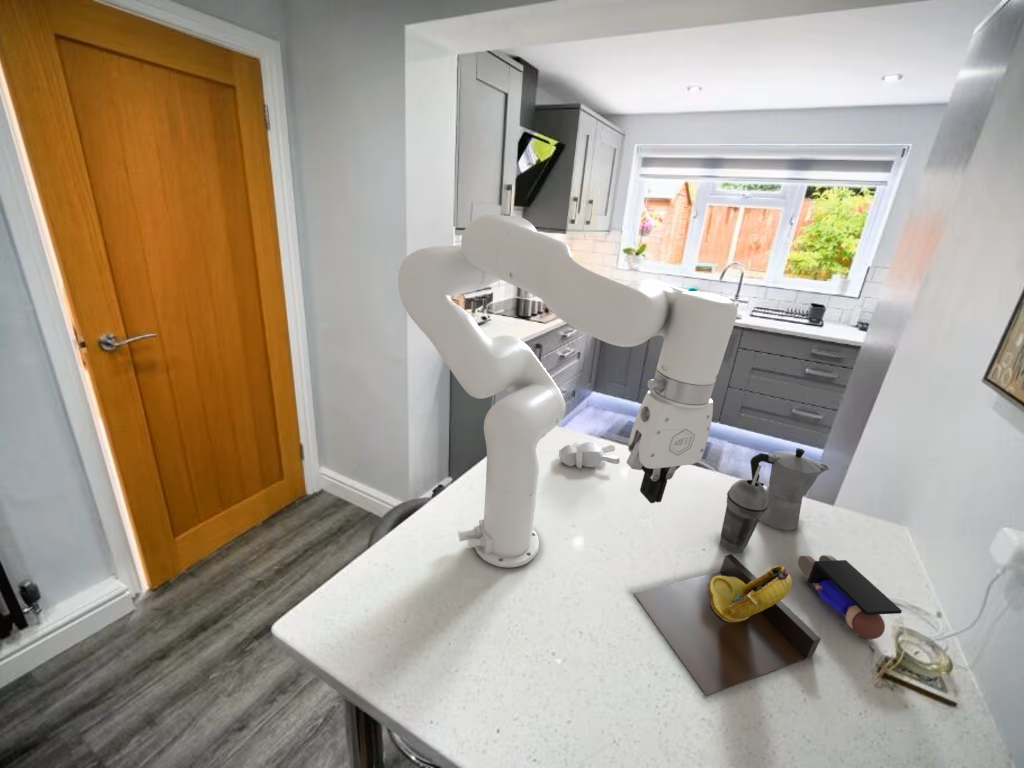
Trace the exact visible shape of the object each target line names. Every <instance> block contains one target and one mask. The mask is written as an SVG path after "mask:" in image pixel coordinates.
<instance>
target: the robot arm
mask: <svg viewBox="0 0 1024 768" xmlns="http://www.w3.org/2000/svg"><path fill="white" fill-rule="evenodd" d="M397 278H398V279H397V283H398V292H399V296H400V301H401V302H402V306H403V307H404V310H405V311H406V313H407V314H408V316H409V317H410V319H411V320H412V321H413V322H414V324H416V326H417V327H418V328H419V329H420V330H421V332H423V334H424V335H425V336H426V337H427V338H428V339H429V341H430V342H431V344H432V345H433V347H434V348H435V349H436V351H437V352H438V354H439V355H440V357H441V358H442V360H443V361H444V363H445V364H446V366H447V367H448V368H449V370H450V372H451V373H452V374H453V376H454V377H455V379H456V380H457V381H458V383H459V384H460V386H461V387H462V388H463V390H464V391H465V392H466V394H468V395H469V396H471V397H473V398H474V399H477V400H478V399H479V400H481V399H487V398H490V397H492V396H495V395H497V394H499V393H500V392H502V391H504V390H506V391H508V393H509V394H508V395H506V396H504V397H503V398H501V399H499V400H498V401H497V402H495V404H493V405H492V406H491V408H489V410H488V411H487V413H486V415H485V417H484V421H483V435H484V440H485V448H486V472H485V491H484V492H485V495H484V510H483V518H482V519H479V520H478V525H475V526H474V528H471V529H461V530H458V532H457V536H458V540H459V542H464V541H465V542H466V541H467V548H468V549H473V548H474V549H475V551H476V553H477V555H478V556H479V557H480V558H481V559H482V560H483V561H485V562H486V563H488V564H490V565H492V566H496V567H499V568H507V569H508V568H517V567H518V568H519V567H521V566H524V565H527V564H528V563H530V562H531V561H532V560H534V558H535V557H536V556H537V554H538V551H539V547H540V539H539V537H538V534H537V533H536V531H535V530H534V519H535V512H536V504H537V503H536V501H537V496H538V495H537V494H538V486H539V485H538V484H539V474H540V460H539V457H538V454H537V447H538V444H539V442H540V441H541V439H543V438H544V437H545V436H546V435H547V434H548V433H550V432H551V431H552V430H554V429H555V428H556V427H557V426H558V425H560V423H561V422H562V421H563V418H564V416H565V414H566V402H565V401H566V400H565V398H564V395H563V394H562V391H561V390H560V388H559V387H558V385H557V384H556V383H555V381H554V380H553V378H552V377H551V376H550V374H549V373H548V371H547V370H546V368H545V367H544V365H543V364H542V363H541V361H540V360H539V358H538V357H537V356H536V354H535V353H534V352H533V350H532V349H531V347H529V345H527V343H525V342H524V341H523V340H522V339H520V338H518V337H516V336H513V335H507V334H505V335H499V336H496V337H492V338H489V337H488V336H487V335H486V333H484V331H483V330H482V329H481V328H480V326H479V324H478V323H477V321H476V320H475V318H473V316H472V315H471V314H470V313H469V312H468V311H467V310H465V309H464V308H463V307H461V306H460V305H459V304H457V303H455V302H454V301H453V300H452V299H451V296H458V295H463V294H468V293H473V292H476V291H479V290H483V289H485V288H487V287H489V286H491V285H492V284H495V283H497V282H499V281H502V282H503V281H504V282H506V283H508V284H510V285H512V286H514V287H516V288H518V289H520V290H522V291H525V292H527V293H529V294H531V295H532V296H535V297H537V298H539V299H540V300H541V301H542V302H543V304H544V306H545V307H547V308H548V309H549V310H550V311H551V312H552V313H553V314H554V315H555V316H556V317H557V318H558V319H560V320H561V321H562V322H564V323H566V324H567V325H569V326H571V327H572V328H575V329H576V330H578V331H581V332H583V333H585V334H586V335H589V336H591V337H593V338H595V339H598V341H601V342H604V343H607V344H610V345H613V346H615V347H621V348H632V347H636V346H639V345H642V344H644V343H645V342H647V341H649V340H650V339H651V338H653V337H659V336H661V337H662V338H663V341H662V346H661V349H660V353H659V358H658V362H657V365H656V369H655V373H654V376H653V379H648V380H647V388H648V389H649V390H648V391H647V392H646V394H645V395H644V398H643V400H642V402H641V404H640V406H639V409H638V411H637V413H636V416H635V419H634V422H633V425H632V428H631V431H630V436H629V440H628V444H627V450H628V452H629V456H628V458H627V460H626V465H628V466H629V467H630V469H632V470H636V471H643V477H642V481H641V484H640V488H639V491H640V493H641V494H642V495H643V496H644V498H645V499H646V500H647V501H648V502H649V503H650V504H655V503H661V502H662V499H663V497H664V494H665V491H666V487H667V484H668V481H670V480H671V479H673V477H674V474H675V472H676V471H677V470H678V469H679V468H680V467H681V466H689V465H694V464H696V463H699V462H700V461H701V460H702V458H703V456H704V453H705V449H706V447H707V443H708V439H709V435H710V431H711V426H712V421H713V415H714V414H713V412H714V400H713V399H712V398H711V397H712V395H713V391H714V388H715V385H716V381H717V378H718V376H719V373H720V369H721V367H722V363H723V361H724V357H725V354H726V352H727V348H728V345H729V341H730V339H731V336H732V332H733V329H734V326H735V324H736V320H737V317H738V307H737V304H736V303H735V302H734V301H733V300H731V299H729V298H727V297H724V296H721V295H718V294H713V293H707V292H700V291H689V290H686V289H682V288H679V287H677V286H674V285H671V284H668V283H666V282H662V281H660V280H655V279H643V280H639V281H635V282H632V283H629V284H623V283H621V282H618V281H616V280H614V279H610V278H608V277H606V276H604V275H602V274H599V273H596V272H594V271H592V270H590V269H588V268H586V267H584V266H583V265H581V264H579V263H578V262H576V260H574V258H573V257H572V253H571V250H570V247H569V246H568V244H566V243H565V242H564V241H561V240H558V239H555V238H553V237H550V236H548V235H545V234H543V233H540V232H538V231H537V228H536V227H535V226H534V225H533V224H532V222H530V221H529V220H527V219H526V218H523V217H521V216H518V215H503V214H485V215H481V216H478V217H476V218H475V219H473V220H472V221H470V222H469V223H468V224H467V225H466V227H465V228H464V230H463V232H462V235H461V243H460V245H441V246H428V247H423V248H420V249H416V250H415V251H413V252H411V253H409V254H408V255H407V256H406V257H405V258H404V259H403V261H402V262H401V264H400V266H399V271H398V277H397Z"/></svg>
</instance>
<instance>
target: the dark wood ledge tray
mask: <svg viewBox="0 0 1024 768" xmlns="http://www.w3.org/2000/svg"><path fill="white" fill-rule="evenodd" d="M720 575H721V576H727V577H736V578H738V579H740V580H741V581H743V582H744V583H745V584H748V583H749V582H750V581H754V580H755V579H757V578H758V577H756V575H754V574H753V573H752V571H750V570H749V568H747V567H746V566H745V565H744V564H743V563H742V562H741V561H739V559H737V558H736V557H735V556H734V555H733V553H730V554H726V555H724V559H723V562H722V564H721V568H720V570H719V571H716V572H711V573H708V574H704V575H699V576H695V577H691V578H688V579H683V580H680V581H675V582H672V583H668V584H667V583H666V584H664V585H663V584H662V585H660V586H656V587H652V588H648V589H643V590H640V591H636V592H633V595H634V596H635V598H636V599H637V601H638V602H639V603H640V604H641V606H642V607H643V609H644V611H645V612H646V613H647V614H648V616H649V617H650V619H651V621H652V622H653V623H654V624H655V626H656V627H657V629H658V630H659V631H660V633H661V635H662V636H663V638H664V639H665V640H666V641H667V643H668V644H669V646H670V647H671V648H672V650H673V651H674V653H675V654H676V655H677V657H678V658H679V660H680V662H681V663H682V664H683V665H684V667H685V668H686V670H687V671H688V672H689V674H690V675H691V676H692V678H693V680H694V681H695V683H696V684H697V685H698V686H699V688H700V689H701V691H702V692H703V694H704V695H705V696H710V695H711V694H714V693H717V692H721V691H722V690H725V689H728V688H731V687H734V686H737V685H739V684H742V683H744V682H747V681H751V680H753V679H756V678H758V677H761V676H764V675H767V674H769V673H773V672H774V671H778V670H780V669H783V668H786V667H788V666H791V665H795V664H796V663H800V662H803V661H805V660H808V659H810V658H813V656H814V655H815V652H816V650H817V648H818V646H819V644H820V642H821V641H822V638H821V637H820V636H819V635H818V634H817V633H816V632H814V631H813V630H812V629H811V628H810V627H809V626H808V625H807V624H806V623H805V622H804V621H803V620H802V619H801V618H800V617H799V616H798V615H796V613H795V612H794V611H792V610H791V609H790V608H789V607H788V606H787V605H786V604H785V603H784V602H783V601H782V600H781V601H779V602H778V603H776V604H774V605H773V606H771V607H769V608H767V609H765V610H763V611H761V612H758V613H756V614H754V615H751V616H750V617H749V618H747V619H746V620H745V621H743V622H741V623H738V624H733V623H726V622H723V621H721V620H719V619H718V618H717V617H716V615H715V614H714V613H713V611H712V610H711V608H710V605H711V603H710V597H709V594H708V584H709V582H710V580H711V578H712V577H714V576H720Z"/></svg>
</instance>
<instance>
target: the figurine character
mask: <svg viewBox="0 0 1024 768" xmlns="http://www.w3.org/2000/svg"><path fill="white" fill-rule="evenodd" d="M797 564H798V565H797V566H798V568H799V570H800V571H801V573H802V574H803V575H804V576H807V577H808V579H806V584H808V585H809V586H810V587H811V588H812V589H813V590H814V591H815V592H816V593H818V594H819V596H820V599H821V600H822V601H823V602H825V603H826V604H827V605H829V606H831V607H833V608H834V609H835V611H836V612H837V613H842V614H843V615H845V621H846V624H847V626H848V628H849V629H850V630H851V632H852V633H854V634H855V635H857V636H859V637H861V638H864V639H866V640H873V639H874V640H875V639H879V638H880V637H882V635H883V634H884V632H885V630H886V624H885V620H884V618H883V617H882V616H881V615H895V614H896V615H897V614H902V612H903V610H902V609H901V608H900V607H899V606H897V604H895V603H894V602H893V600H891V599H890V598H889V597H888V596H886V594H884V593H883V592H882V591H881V590H880V589H879V588H877V586H875V584H873V583H872V582H871V581H870V580H869V579H868V578H866V577H865V576H864V575H863V574H862V573H861V572H860V571H859V570H857V568H856V567H854V566H853V565H852V564H851V563H850V562H849V561H848V560H846V559H839V560H837V559H836V557H835V556H833V555H830V554H826V555H824V554H823V555H821V556H819V559H818V560H815V559H814V557H813V556H811V555H800V556H799V557H798V559H797ZM814 584H816V585H814Z"/></svg>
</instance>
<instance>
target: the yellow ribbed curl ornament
mask: <svg viewBox="0 0 1024 768" xmlns="http://www.w3.org/2000/svg"><path fill="white" fill-rule="evenodd" d="M756 578H757V579H755V580H754V581H750V582H749V583H748V584H745V583H744V582H743V581H741V580H740V579H738V578H736V577H727V576H721V575H720V576H714V577H712V578H711V580H710V582H709V584H708V594H709V597H710V603H711V605H710V608H711V610H712V611H713V613H714V614H715V615H716V617H717V618H718V619H719V620H721V621H723V622H726V623H733V624H738V623H741V622H743V621H745V620H746V619H747V618H749V617H750V616H751V615H754V614H756V613H758V612H761V611H763V610H765V609H767V608H769V607H771V606H773V605H774V604H776V603H778V602H779V601H782V600H783V599H785V598H786V597H787V595H788V593H789V592H790V591H791V588H792V584H793V579H792V576H791V575H790V573H789V571H788V570H787V569H786V568H785V567H784V566H783V565H777V566H774V565H772V566H771V567H770V569H769V570H767V571H766V572H765V573H764V574H762V575H760V576H759V577H756Z"/></svg>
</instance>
